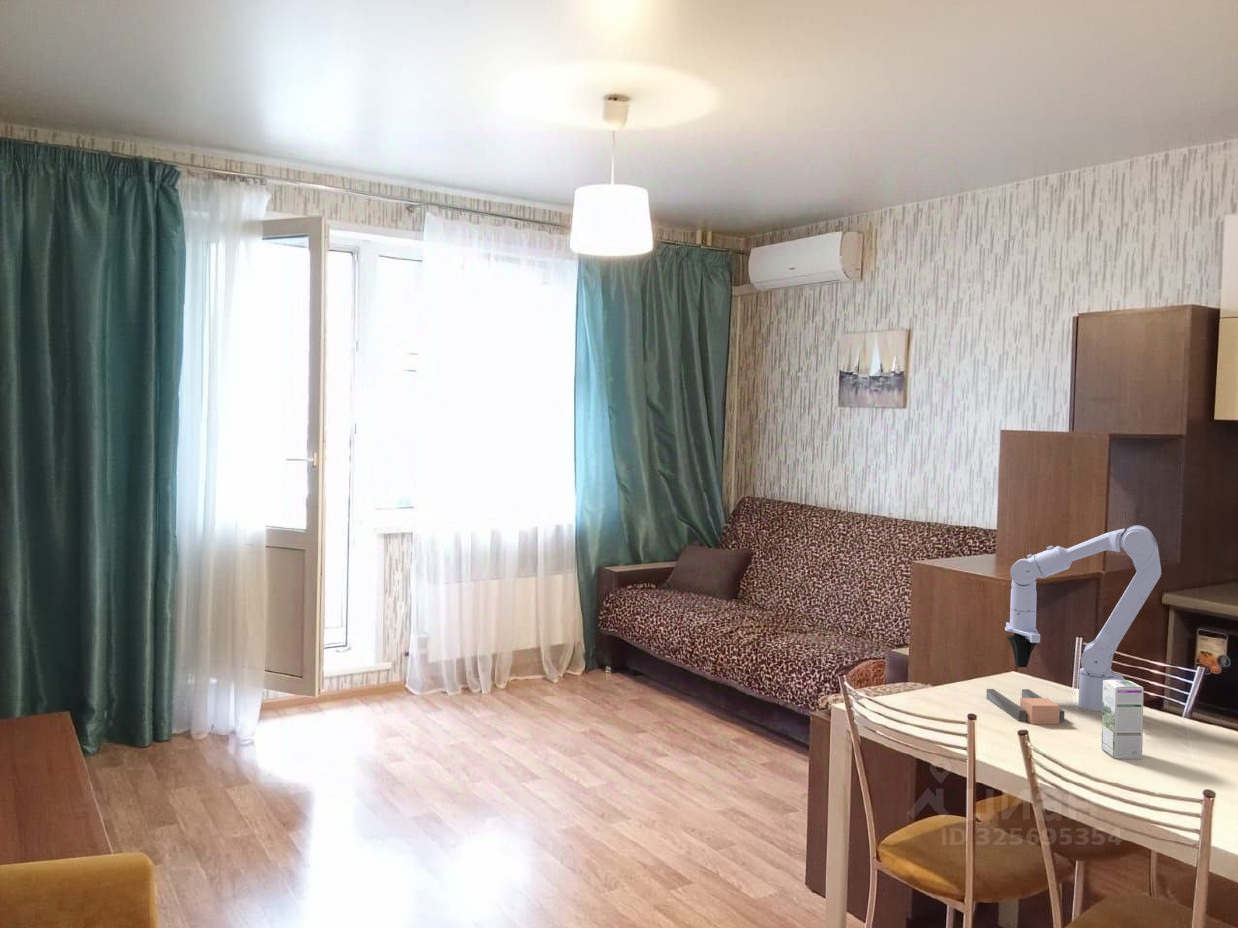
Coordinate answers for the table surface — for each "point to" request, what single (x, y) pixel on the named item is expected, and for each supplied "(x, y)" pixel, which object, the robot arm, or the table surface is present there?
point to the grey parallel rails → (1013, 708)
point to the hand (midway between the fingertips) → (1021, 666)
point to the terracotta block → (1040, 710)
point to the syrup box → (1122, 719)
